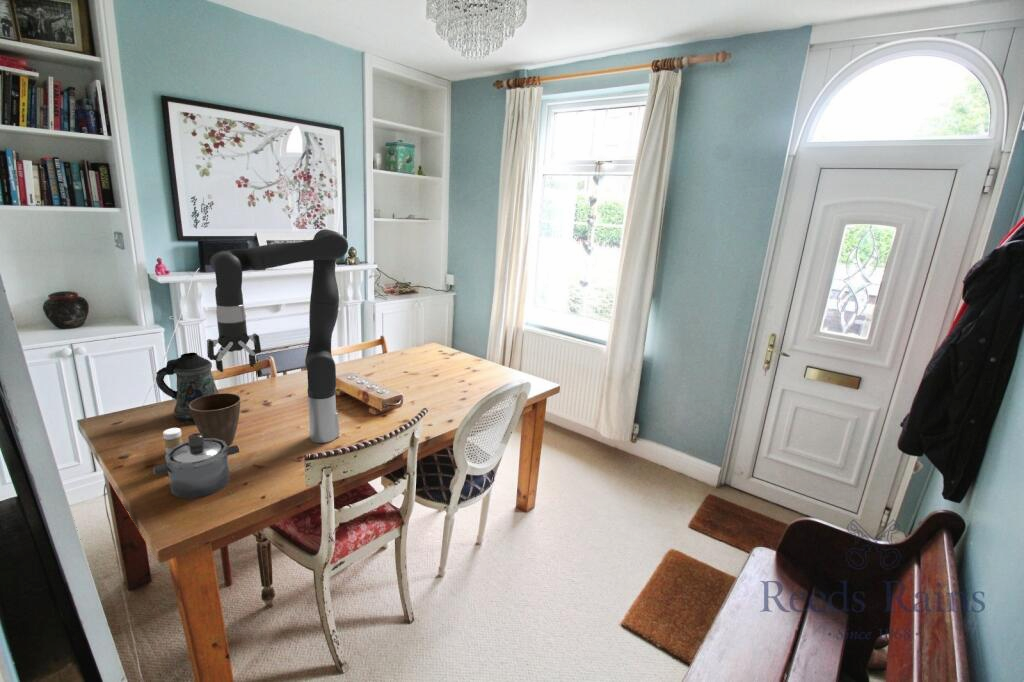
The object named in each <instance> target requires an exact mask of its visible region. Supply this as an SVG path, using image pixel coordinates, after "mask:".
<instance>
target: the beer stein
mask: <svg viewBox="0 0 1024 682" xmlns="http://www.w3.org/2000/svg"><path fill="white" fill-rule="evenodd" d="M212 366H213V363H212V361H211V360H210V359H207V358H204V357H202V356H200V355H199V354H198V353H197V352H188V353H187V352H186V353H182V354H180V357H178V358H174V359H169V360H168V361H167V362H166V366H165V367H162V368H160V369H159V370H158V371H157V372H156V376H155V382H156V385H157V387H158V388H159V390H160V391H162V393H164V394H165V395H167V396H168V397H169V398H172V399H174V400H176V403H175V407H174V408H173V409H174V410H173V414H174V416H175V418H176V421H178V422H179V423H182V424H187V425H188V424H191V425H193V424H195V422H194V419H193V417H192V414H191V411H190V408H189V404H190V403H191V402H192V401H193V400H195V399H197V398H200V397H203V396H207V395H212V394H220V393H219V391H218V388H217V385H216V383H215V379H214V376H213V374H212V368H213V367H212ZM171 375H172V376H173V375H176V390H174V389H173V388H171V387H170V386H168V385H167V383H166V382H165V377H166V376H171ZM195 425H196V424H195Z"/></svg>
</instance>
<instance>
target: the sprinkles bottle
mask: <svg viewBox="0 0 1024 682" xmlns="http://www.w3.org/2000/svg"><path fill="white" fill-rule="evenodd" d="M162 437H163V440H164V445H165V453H166V454H167V453H168V452H169V450H170V449H171V448H173V447H175V446H178V445H180V444H182V443H183V440H182V430H181V428H179V427H171V428H168V429H167V428H166V429H165V430H164V431H163V432H162ZM166 454H165V455H166Z"/></svg>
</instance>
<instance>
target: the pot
mask: <svg viewBox="0 0 1024 682" xmlns="http://www.w3.org/2000/svg"><path fill="white" fill-rule="evenodd" d="M203 440H204V441H212V442H217V443H219V444H220V445H221V449H222V451H221V452H220V453H218V454H216V455H215V456H213V457H211V458H209V459H205V460H201V461H198V462H191V463H178V462H175V461H174V460H173V454H174V452H175V451H176V450H178V449H179V448H181V447H183V446H186V445H188V444H189V440H188V441H184V442H182V444H180V445H178V446H175V447H173V448H171V449H170V450H169V452H168V453H167V454H165V455H164V458H165V461H166V463H163V464H158V465H154V466H153V467H152V469H153V473H154V475H155V476H158V475H161V474H165V473H168V479H169V486H170V487H169V488H170V492H171V494H172V495H173V496H174V497H176V498H179V499H197V498H203V497H207V496H209V495H212V494H214V493H217V492H219V491H221V490H222V489H224V488H225V487H226V486H227V485H228V484H229V482H230V481H231V473H230V465H229V457H228V456H231V455H235V454H239V453H240V448H239V447H238V444H237V445H236V444H235V445H232V446H231V445H230V446H227V444H226V443H225V441H223V440H219V439H216V438H204V439H203Z"/></svg>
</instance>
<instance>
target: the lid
mask: <svg viewBox="0 0 1024 682" xmlns="http://www.w3.org/2000/svg"><path fill="white" fill-rule="evenodd" d="M187 439H188V441H189V444H188V445H186V446H183V447H181V448H179V449H178V450H176V451H175V452H174V454H173V460H174V461H175V462H178V463H191V462H198V461H201V460H205V459H209V458H211V457H213V456H215V455H216V454H218V453H220V452H221V451H222V449H221V445H220V444H219V443H217V442H212V441H204V440H203V434H201V433H200V432H197V433H192V434H190V435H188V437H187Z"/></svg>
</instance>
